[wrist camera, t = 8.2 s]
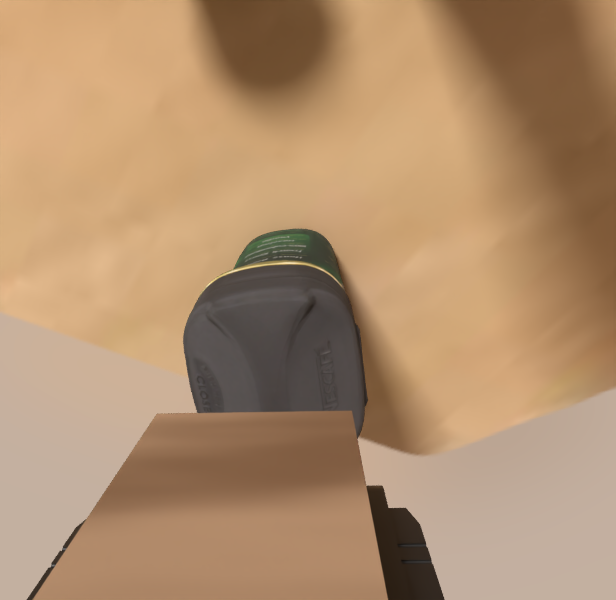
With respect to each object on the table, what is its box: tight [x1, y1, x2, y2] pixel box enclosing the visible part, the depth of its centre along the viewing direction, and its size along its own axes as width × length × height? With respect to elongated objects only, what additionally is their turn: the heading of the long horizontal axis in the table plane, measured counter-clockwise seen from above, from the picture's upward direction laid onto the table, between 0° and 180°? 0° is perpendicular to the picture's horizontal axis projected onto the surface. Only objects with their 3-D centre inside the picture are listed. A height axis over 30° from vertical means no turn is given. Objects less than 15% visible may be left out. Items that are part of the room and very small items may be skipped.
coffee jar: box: [183, 229, 368, 438], centre depth 26 cm, size 10×8×19 cm
